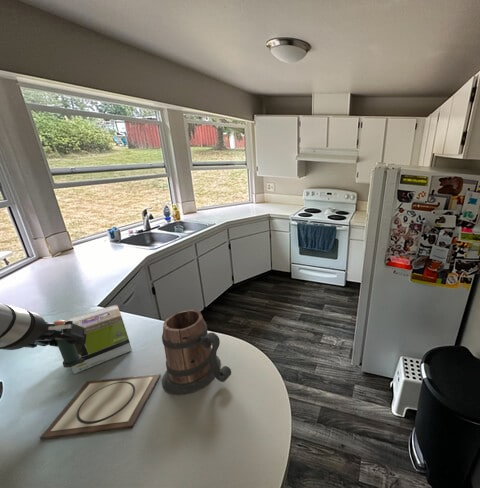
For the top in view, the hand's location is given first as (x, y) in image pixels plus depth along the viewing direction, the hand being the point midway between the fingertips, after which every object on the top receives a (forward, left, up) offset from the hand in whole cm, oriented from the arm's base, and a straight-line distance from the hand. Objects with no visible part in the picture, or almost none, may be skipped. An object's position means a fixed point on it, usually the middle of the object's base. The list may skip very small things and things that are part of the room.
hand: (76, 340), depth 69 cm
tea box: (-5, +13, -17) cm, 22 cm away
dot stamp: (+1, -4, -4) cm, 6 cm away
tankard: (+30, 0, -17) cm, 34 cm away
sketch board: (+8, -7, -16) cm, 20 cm away
